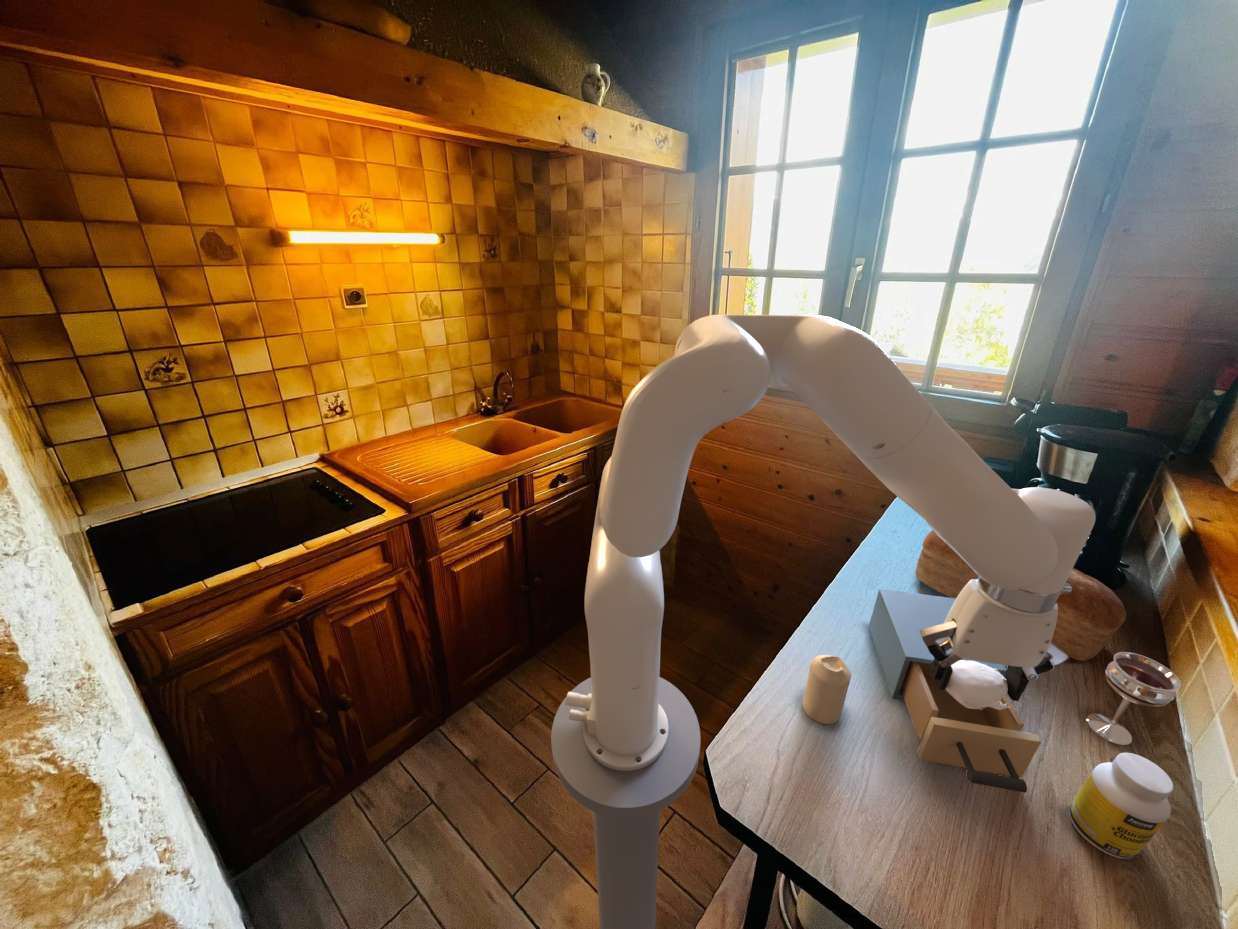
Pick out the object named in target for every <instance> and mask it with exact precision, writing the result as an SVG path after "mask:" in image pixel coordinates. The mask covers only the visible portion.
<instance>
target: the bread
mask: <svg viewBox="0 0 1238 929" xmlns="http://www.w3.org/2000/svg"><path fill="white" fill-rule="evenodd" d="M915 577H916V578H917V579H918V580H919V581H920V582H921V583H923V584H924V585H926V586H927V587H929V588H931V589H932V590H933V591H935V592H937V593H940V594H942V595H944V596H945V597H948V598H957V596H958V595H959V593H960V592H961V591H962V589H963V588H964V587H965V585H966V584H967V583H968V582H969V581H970V580H971V579H978V578H979V576H978V575H977V574H976V573H975V572H974V571H973V570H972V569H971V568H970V566H969V565H968V564H967V563H966V562H965V561H964V560H963V559H962V558H961V557H960V556H959V555H958V554H957V553H956V552H955V551H954V550H953V549H952V548H950V547H949V546H948V545H947V544H946V543H945V542H944V541H943V540H942V539H941V538H940V537H939V536H938V535H937V534H936V533H935V532H934V531H933V530H932V529H931V531H930V532H929V533H928V534H926V536H925V538H924V539H923V541H922V549H921V551H920V554H919V557H918V559H917V564H916V568H915ZM1066 583H1069V584H1070V585H1071V587H1072V591H1071V593H1070V594H1060V596H1059V598H1058V600H1057V602H1056V603H1057V605H1058V615H1057V622H1056V627H1055V631H1054V634H1053V637H1052V640H1051V641H1053V642H1054V643H1056V644H1057V645H1058V646H1060V647H1061V648H1062V649H1063V650H1064V651H1065V652H1066V654H1067V655H1068V656H1069V658H1071V659H1074V660H1076V661H1079V662H1080V661H1088V660H1089V661H1090V660H1092V659H1094V658H1095V657H1096V656H1097V655H1098V654H1099V653H1100V651H1101V650H1102V649H1103V648H1104V647H1105V646H1106V645H1107V644H1108V642H1110V640H1111V639H1112V637H1113V635H1115V634H1116V632H1118V630H1119V628H1121V626H1122V625H1123V624H1124V623H1125V621H1126V617H1127V611H1126V609H1125V606H1124V603H1123V602H1122V599H1120V598H1119V597H1118V596H1117V595H1116V593H1115V592H1114V591H1113V590H1112V589H1111V588H1109V587H1108V586H1106V585H1105V584H1104V583H1102V582H1101V581H1099V580H1098V579H1096V578H1094V577H1092V576H1091V575H1088V574H1085V573H1084V572H1082V571H1080V570H1078V569H1077V568H1075V567H1073V569H1072V571H1071V573H1070V575H1069V577H1068V579H1067V581H1066Z"/></svg>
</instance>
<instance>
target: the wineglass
mask: <svg viewBox="0 0 1238 929" xmlns="http://www.w3.org/2000/svg"><path fill="white" fill-rule="evenodd" d="M1112 658H1113V660H1112V661H1111V662H1109V663H1108V664H1107V666H1106V667H1105V679H1106V681H1107V683H1108V684H1109V686H1110V687H1111V688H1112V690H1113V691H1114V692H1115V693H1116V695H1118V696H1119V697H1120V698H1121V699H1122V700H1121V701H1120V704H1119V706H1118V708H1117V710H1116V711H1115V713H1114V715H1113V717H1112V718H1111V717H1109V716H1106V715H1103V714H1099V713H1090V714H1088V715H1087V718H1086V721H1087V722H1086V723H1087V724H1088V726H1089V727H1090V728H1091V730H1092V731H1093V732H1095V733H1096V734H1097V735H1098V736H1100V737H1102V738H1103V739H1104V740H1107V741H1109V742H1110V743H1113V744H1117V745H1121V746H1126V745H1130V744H1131V743H1132V742H1133V736H1132V734H1131V733H1130V732H1129V731H1128V729H1127V728H1126V727H1125V726H1124V725H1122V724H1121V723H1120V722H1118V720H1119V719H1120V718H1121V716H1122V715H1123V714H1124V712H1125V711H1126V710H1127V709H1128V707H1129V706H1130V704H1134V705H1136V706H1140V707H1147V708H1161V707H1163V706H1167V705H1168V704H1170V703H1171V702H1172V701H1173V700H1174V699H1175V696H1176V692H1177V691H1178V690H1181V686H1182V683H1181V680H1180V679H1179V677H1178V676H1177V675H1176V674H1175V673H1174V672H1173V671H1172V670H1171V669H1169V668H1168V667H1166V666H1165V665H1163V664H1161V663H1160V662H1158V661H1156V660H1154V659H1152V658H1149V657H1147V656H1145V655H1142V654H1139V653H1135V652H1129V651H1120V652H1117V653H1115V654H1113V657H1112Z"/></svg>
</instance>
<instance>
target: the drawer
mask: <svg viewBox="0 0 1238 929" xmlns="http://www.w3.org/2000/svg"><path fill="white" fill-rule="evenodd" d="M931 666H932V664H928V663H921V662H914V661H910V663H909V666H908V669H907V672H906V675H905V678H904V681H903V684H902V687H901V691H902V693H903V696H904V699H905V700H904V701H905V705H906V707H907V710H908V712H909V715H910V718H911V721H912V724H913V726H914V730H915V733H916V735H917V738H918V741H919V743H920V744H919V746H918V748H917V751H916V752H917V755H918V758H919V760H921V761H927V762H932V763H937V764H944V765H948V766H954V767H960V768H965V769H966V779H967V781H968V783H970V784H976V785H981V786H986V787H992V788H997V789H1002V790H1008V791H1013V792H1019V793H1023V794H1026V793H1027V792H1028V785H1027V783H1026V781H1025V780H1024V779H1023V776H1024V774H1025V773H1026V771H1027V769H1028V767H1029V765H1030V763H1031V762H1032V760H1033V758H1034V757H1035V754H1036V752H1037V751H1038V749H1039V747H1040V746H1041V744H1042V741H1041V739H1040V738H1039V736H1038V733H1033V732H1025V731H1022V730H1023V728H1024V726H1025V724H1024V722H1023V720H1022V718H1021V717H1020V715H1019V713H1018V712H1017V710H1016V708H1015V706H1014V704H1013V703H1012V701H1011V699H1010V697H1009V695H1008V694H1006V695H1004V696H1003V697H1002V698H1001V700H1000V701H1001V702H1002V704H1003V705H1004V704H1005V703H1006V706H1009V707H1011V708H1005V709H1002V710H997V709H994V708H991V707H986V708H982V709H983V710H980V709H970V708H966V707H964V706H963V705H961V704H960V703H959V702H958V701H957V700H956V699H954V698H953V697H952V696H951V695H950V694H949V693H948V692H947V690H946V689H944V690H941V689H939V688H938V686H937V684H936V681H935V679H933V678H932V676H931V674H930V668H931ZM999 704H1000V702H999Z"/></svg>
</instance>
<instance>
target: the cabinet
mask: <svg viewBox="0 0 1238 929" xmlns="http://www.w3.org/2000/svg"><path fill="white" fill-rule="evenodd" d="M955 600H956V598H950V597H948V596H940V595H931V594H923V593H914V592H906V591H897V590H891V589H890V590H889V589H878V592H877V595H876V599H875V603H874V606H873V610H872V614H871V617H870V621H869V625H868V630H869V633H870V637H871V639H872V642H873V645H874V648H875V651H876V654H877V657H878V660H879V663H880V667H881V670H882V672H883V675H884V678H885V681H886V684H887V687H888V690H889V693H890V696H891V698H892V699H895V700H902V701H905V699H904V696H903V693H902V691H901V687H902V684H903V681H904V678H905V675H906V672H907V669H908V666H909V663H910V661H914V662H921V663H928V664H932V663H933V660H934V657H933V655H932V654H931V653H930V652H929V650H928V648H927V646H926V645H925V643H924V641H923V639H922V637H921V635H920V630H922V629H925V628H928V627H932V626H936V625H939V624H943V623H944V621H945V619H946V617H947V615H948V613H949V611H950V609H951V607H952V605H953V603H954V601H955ZM947 638H949V637H946V638H942V639H938V640H937V641H936V642H937V643H938V644H939V643H941V642H942V641H944V640H946V639H947ZM951 652H953V649H950V650H948V651H947V652H946V653H947V655H948V654H949V653H951ZM961 660H965V661H975V662H978V663H981V664H984V665H987V666H989V667H991V668H996V669H997V670H998V671H999V673H1000V674H1001V675H1003V676H1004V675H1005V672H1006V670H1007V667H1006V665H1002V664H995V663H988V662H982V661H976V660H970V659H965V658H963V659H961ZM961 660H959V661H961Z"/></svg>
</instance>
